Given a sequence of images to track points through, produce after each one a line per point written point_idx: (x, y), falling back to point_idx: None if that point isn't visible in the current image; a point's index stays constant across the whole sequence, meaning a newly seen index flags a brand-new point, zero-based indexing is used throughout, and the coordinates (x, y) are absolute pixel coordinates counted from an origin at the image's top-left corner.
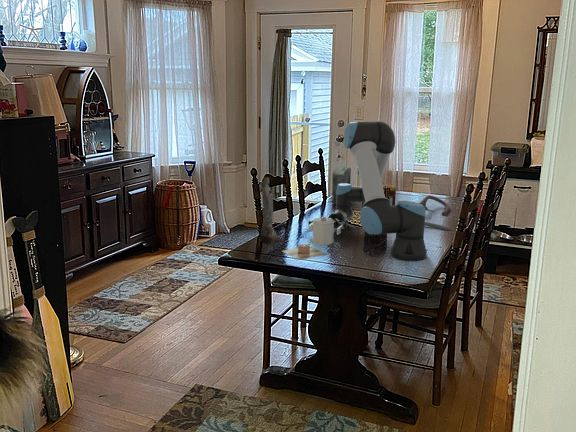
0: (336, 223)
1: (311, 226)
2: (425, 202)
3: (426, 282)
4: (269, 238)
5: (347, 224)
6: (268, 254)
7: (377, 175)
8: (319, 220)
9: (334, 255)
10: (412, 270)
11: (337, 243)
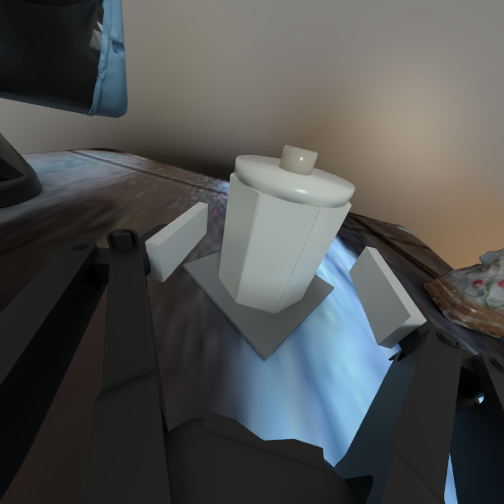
0: (172, 431)
1: (368, 268)
2: None
3: (86, 149)
4: (441, 275)
5: (59, 275)
6: (355, 229)
7: None
8: (313, 173)
9: (217, 214)
10: (68, 162)
11: (198, 279)
